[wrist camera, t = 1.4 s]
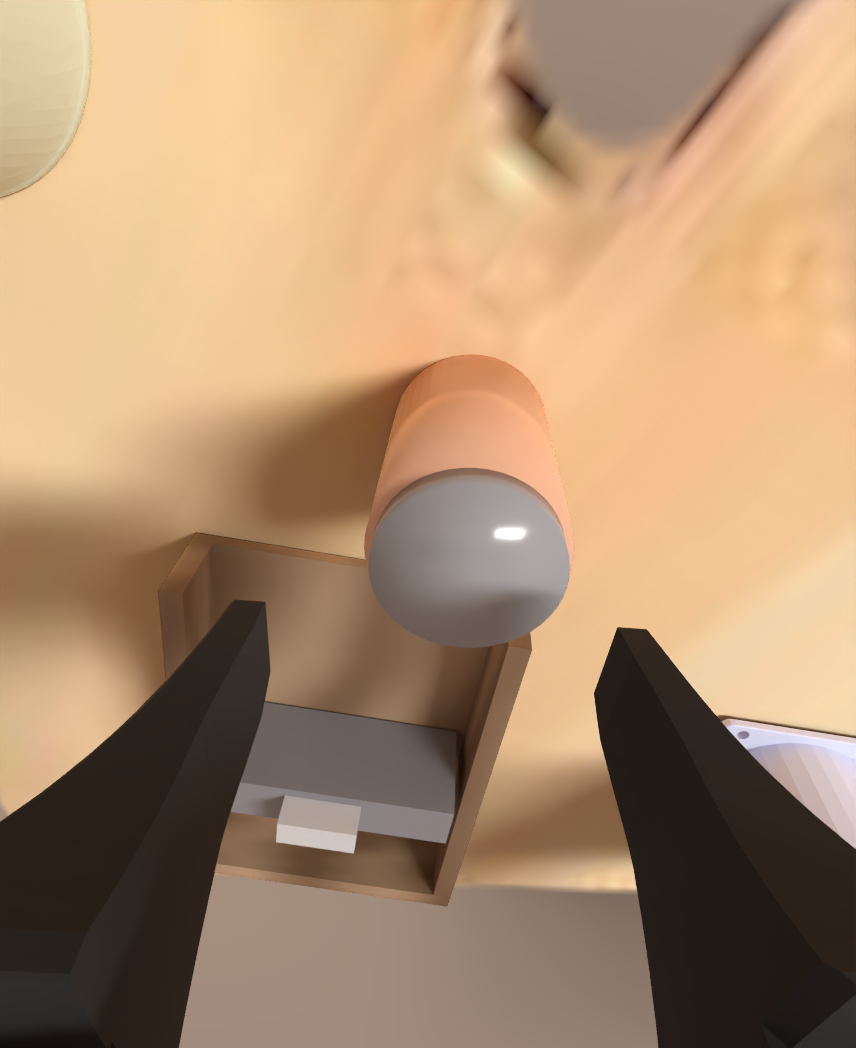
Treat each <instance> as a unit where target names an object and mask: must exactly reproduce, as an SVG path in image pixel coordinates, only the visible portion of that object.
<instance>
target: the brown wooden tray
mask: <svg viewBox="0 0 856 1048" xmlns="http://www.w3.org/2000/svg"><path fill="white" fill-rule="evenodd" d="M158 594H159V605H160V617H161V629H162V640H163V652H164V663H165V675H166V680H167V679H168V678H169V677H170V676H171V675H172V674H173V673H174V671H175V670H176V669H177V668H178V667H179V666H180V665H181V663H182V662H183V661H184V660H185V659H186V658H187V657H188V655H189V654H190V653H191V652H192V651H193V650H194V649H195V647H196V646H197V645H198V644H199V642H200V641H201V640H202V639H203V638H204V636H205V635H206V634H207V633H208V631H209V630H210V629H211V628H212V626H213V625H214V624H215V623H216V621H217V620H218V619H219V617H220V616H221V615H222V613H223V612H224V611H225V609H226V608H227V607H228V605H229V604H230V603H231V602H232V601H234V600H248V601H262V602H265V603H266V616H267V629H268V642H269V656H270V669H271V672H270V677H269V682H268V687H267V692H266V698H265V702H267V703H274V704H280V705H287V706H293V707H300V708H306V709H313V710H319V711H326V712H332V713H339V714H345V715H352V716H358V717H365V718H371V719H378V720H384V721H391V722H397V723H404V724H410V725H417V726H423V727H430V728H436V729H443V730H449V731H456V732H457V735H456V771H455V806H454V817H453V820H452V824H451V827H450V830H449V834H448V837H447V840H446V844H445V843H439V842H432V841H425V840H418V839H412V838H405V837H398V836H391V835H385V834H378V833H371V832H364V831H357V837H356V843H355V849H354V853H347V852H340V851H333V850H326V849H319V848H313V847H306V846H299V845H292V844H285V843H279V842H276V835H277V822H278V819H276V818H270V817H263V816H256V815H249V814H243V813H236V812H230V815H229V818H228V821H227V825H226V828H225V832H224V835H223V839H222V842H221V846H220V851H219V855H218V859H217V864H216V868H215V873H220V874H226V875H233V876H240V877H248V878H254V879H261V880H268V881H275V882H282V883H289V884H296V885H303V886H309V887H316V888H324V889H330V890H338V891H344V892H351V893H358V894H365V895H372V896H379V897H386V898H393V899H400V900H407V901H414V902H421V903H427V904H434V905H441V906H447V905H448V902H449V899H450V896H451V893H452V890H453V887H454V884H455V881H456V878H457V875H458V872H459V869H460V866H461V863H462V860H463V857H464V854H465V851H466V848H467V845H468V842H469V839H470V836H471V833H472V830H473V827H474V824H475V821H476V818H477V815H478V811H479V808H480V805H481V802H482V799H483V796H484V793H485V790H486V787H487V784H488V781H489V778H490V775H491V772H492V769H493V766H494V763H495V760H496V757H497V754H498V751H499V748H500V745H501V742H502V739H503V736H504V733H505V730H506V727H507V724H508V721H509V718H510V715H511V712H512V709H513V706H514V703H515V700H516V697H517V694H518V691H519V687H520V684H521V681H522V678H523V675H524V672H525V669H526V666H527V663H528V660H529V657H530V654H531V651H532V645H531V636H530V632H529V633H527V634H525V635H523V636H522V637H519V638H517V639H514V640H512V641H509V642H506V643H502V644H499V645H494V646H488V647H479V648H461V647H452V646H446V645H442V644H438V643H434V642H431V641H428V640H426V639H423V638H421V637H419V636H416V635H415V634H413V633H411V632H409V631H408V630H406V629H405V628H403V627H402V626H400V625H399V624H398V623H397V622H396V621H394V620H393V619H392V618H391V617H390V616H389V615H388V614H387V612H386V611H385V610H384V609H383V608H382V606H381V605H380V603H379V601H378V600H377V598H376V596H375V594H374V592H373V589H372V586H371V583H370V579H369V571H368V566H367V562H366V560H362V559H356V558H350V557H343V556H337V555H331V554H325V553H319V552H313V551H306V550H300V549H294V548H288V547H282V546H276V545H269V544H263V543H257V542H251V541H245V540H239V539H232V538H226V537H220V536H214V535H208V534H201V533H195V535H194V536H193V538H192V540H191V541H190V543H189V544H188V546H187V547H186V549H185V550H184V552H183V553H182V555H181V556H180V558H179V559H178V561H177V562H176V564H175V566H174V567H173V569H172V570H171V572H170V573H169V575H168V576H167V578H166V579H165V581H164V582H163V584H162V585H161V587H160V589H159V590H158Z"/></svg>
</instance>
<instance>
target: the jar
mask: <svg viewBox="0 0 856 1048" xmlns="http://www.w3.org/2000/svg"><path fill="white" fill-rule="evenodd" d="M364 549H365V557H366V562H367V566H368V571H369V579H370V583H371V586H372V589H373V592H374V594H375V596H376V598H377V600H378V601H379V603H380V605H381V606H382V608H383V609H384V610H385V611H386V612H387V614H388V615H389V616H390V617H391V618H392V619H393V620H394V621H396V622H397V623H398V624H399V625H400V626H402V627H403V628H405V629H406V630H408V631H409V632H411V633H413V634H415V635H416V636H419V637H421V638H423V639H426V640H428V641H431V642H434V643H438V644H442V645H446V646H452V647H461V648H479V647H488V646H494V645H499V644H502V643H506V642H509V641H512V640H514V639H517V638H519V637H522V636H523V635H525V634H527V633H529V632H531V631H532V630H534V629H535V628H536V627H538V626H539V625H541V624H542V623H543V622H544V621H545V620H546V619H547V618H548V617H549V616H550V615H551V614H552V613H553V612H554V610H555V609H556V608H557V606H558V605H559V603H560V602H561V600H562V598H563V596H564V593H565V591H566V589H567V585H568V581H569V574H570V570H571V566H572V562H573V558H574V535H573V531H572V526H571V522H570V518H569V514H568V509H567V505H566V501H565V496H564V492H563V488H562V483H561V479H560V475H559V470H558V466H557V462H556V458H555V453H554V449H553V445H552V440H551V436H550V432H549V427H548V423H547V419H546V415H545V410H544V406H543V403H542V400H541V398H540V395H539V394H538V392H537V390H536V388H535V387H534V386H533V384H532V383H531V382H530V380H529V379H528V378H527V377H526V376H525V375H524V374H523V373H521V372H520V371H519V370H517V369H516V368H515V367H513V366H511V365H509V364H508V363H506V362H503V361H501V360H498V359H496V358H492V357H488V356H482V355H460V356H454V357H450V358H447V359H443V360H441V361H439V362H436V363H434V364H432V365H431V366H429V367H427V368H426V369H424V370H423V371H422V372H421V373H419V374H418V375H417V376H416V377H415V378H414V379H413V380H412V381H411V382H410V384H409V385H408V386H407V388H406V389H405V391H404V393H403V395H402V396H401V398H400V401H399V404H398V407H397V410H396V414H395V418H394V422H393V426H392V430H391V434H390V438H389V442H388V446H387V449H386V453H385V457H384V461H383V465H382V469H381V473H380V477H379V481H378V485H377V489H376V493H375V497H374V501H373V504H372V508H371V512H370V516H369V520H368V524H367V529H366V533H365V545H364Z"/></svg>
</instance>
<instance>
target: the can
mask: <svg viewBox="0 0 856 1048" xmlns="http://www.w3.org/2000/svg"><path fill="white" fill-rule="evenodd" d="M90 71H91V39H90V28H89V17H88V12H87V7H86V1H85V0H0V197H3V196H7V195H10V194H13V193H15V192H18V191H20V190H22V189H24V188H26V187H28V186H30V185H32V184H33V183H35V182H36V181H37V180H39V179H40V178H41V177H43V176H44V175H45V174H46V173H47V172H48V171H49V170H51V169H52V168H53V166H54V165H55V164H56V163H57V162H58V161H59V159H60V158H61V157H62V156H63V154H64V153H65V151H66V150H67V148H68V146H69V145H70V143H71V142H72V140H73V138H74V136H75V133H76V131H77V129H78V126H79V124H80V122H81V118H82V115H83V111H84V108H85V104H86V100H87V96H88V89H89V82H90Z"/></svg>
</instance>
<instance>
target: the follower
mask: <svg viewBox="0 0 856 1048" xmlns="http://www.w3.org/2000/svg"><path fill="white" fill-rule="evenodd" d="M456 735H457V732H456V731H449V730H443V729H436V728H430V727H423V726H417V725H410V724H404V723H397V722H391V721H384V720H378V719H371V718H365V717H358V716H352V715H345V714H339V713H332V712H326V711H319V710H313V709H306V708H300V707H293V706H287V705H280V704H274V703H267V702H264V707H263V712H262V716H261V720H260V723H259V726H258V730H257V733H256V736H255V739H254V742H253V745H252V748H251V751H250V754H249V757H248V760H247V763H246V766H245V769H244V773H243V776H242V779H241V782H240V785H239V788H238V791H237V794H236V797H235V800H234V803H233V806H232V809H231V812H236V813H243V814H249V815H256V816H263V817H270V818H276V819H278V822H277V835H276V842H279V843H285V844H292V845H299V846H306V847H313V848H319V849H326V850H333V851H340V852H347V853H354V849H355V843H356V837H357V831H364V832H371V833H378V834H385V835H391V836H398V837H405V838H412V839H418V840H425V841H432V842H439V843H445V844H446V840H447V837H448V834H449V830H450V827H451V824H452V820H453V817H454V806H455V771H456Z"/></svg>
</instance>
